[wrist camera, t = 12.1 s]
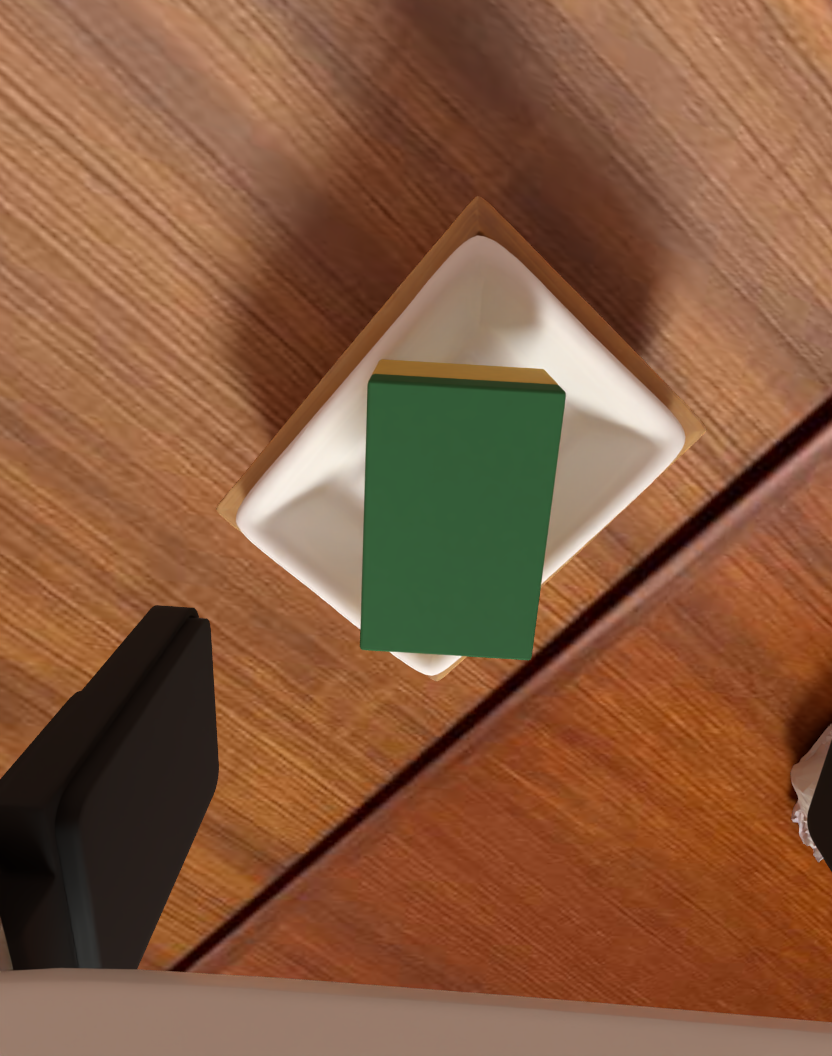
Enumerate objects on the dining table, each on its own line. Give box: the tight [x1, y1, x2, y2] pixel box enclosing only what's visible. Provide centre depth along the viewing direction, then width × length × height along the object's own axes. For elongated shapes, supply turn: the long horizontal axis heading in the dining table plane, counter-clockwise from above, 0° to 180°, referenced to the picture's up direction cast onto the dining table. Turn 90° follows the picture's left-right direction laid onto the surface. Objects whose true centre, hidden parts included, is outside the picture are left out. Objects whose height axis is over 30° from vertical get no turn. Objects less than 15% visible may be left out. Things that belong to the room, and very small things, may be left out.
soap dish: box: [216, 196, 707, 681], centre depth 23 cm, size 12×10×5 cm
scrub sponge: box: [360, 359, 566, 660], centre depth 19 cm, size 7×5×4 cm, turn 177°
